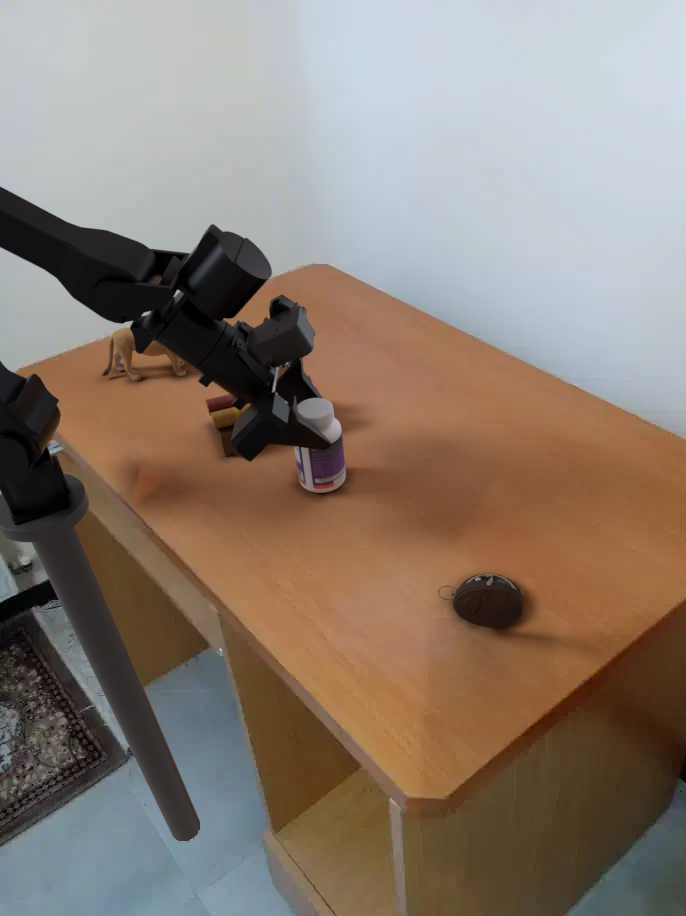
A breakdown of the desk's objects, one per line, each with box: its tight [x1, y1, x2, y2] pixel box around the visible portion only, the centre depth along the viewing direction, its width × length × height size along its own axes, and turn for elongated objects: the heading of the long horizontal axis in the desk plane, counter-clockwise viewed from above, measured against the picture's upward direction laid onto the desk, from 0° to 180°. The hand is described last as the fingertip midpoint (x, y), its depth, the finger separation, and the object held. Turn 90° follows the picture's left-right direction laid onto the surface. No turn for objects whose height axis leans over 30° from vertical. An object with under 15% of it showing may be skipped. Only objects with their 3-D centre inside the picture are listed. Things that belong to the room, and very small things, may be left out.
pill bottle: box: [293, 398, 347, 494], centre depth 87 cm, size 5×5×10 cm
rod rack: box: [205, 374, 319, 458], centre depth 97 cm, size 13×7×5 cm, turn 111°
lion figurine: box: [101, 327, 187, 382], centre depth 107 cm, size 15×5×9 cm, turn 103°
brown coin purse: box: [437, 572, 524, 628], centre depth 73 cm, size 8×8×7 cm
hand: (329, 431), depth 86 cm, fingers closed on pill bottle, 5 cm apart
